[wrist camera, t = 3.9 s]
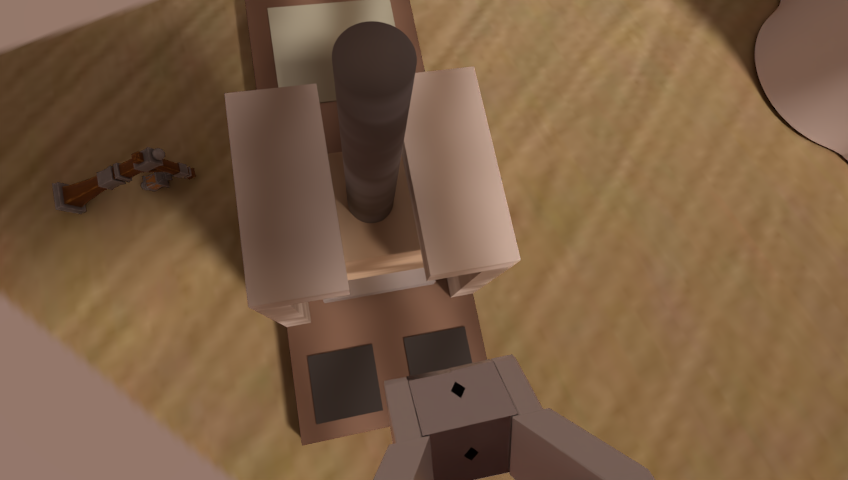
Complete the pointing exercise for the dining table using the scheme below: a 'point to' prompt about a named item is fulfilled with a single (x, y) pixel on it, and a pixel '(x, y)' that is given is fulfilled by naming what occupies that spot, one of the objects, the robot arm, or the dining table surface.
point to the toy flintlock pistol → (120, 179)
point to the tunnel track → (319, 228)
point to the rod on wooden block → (374, 160)
